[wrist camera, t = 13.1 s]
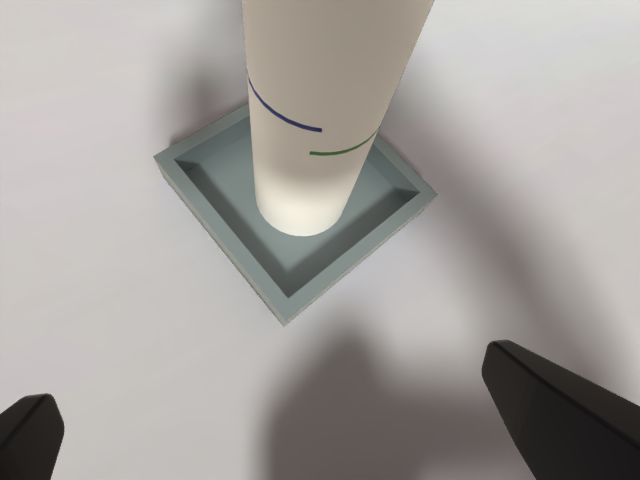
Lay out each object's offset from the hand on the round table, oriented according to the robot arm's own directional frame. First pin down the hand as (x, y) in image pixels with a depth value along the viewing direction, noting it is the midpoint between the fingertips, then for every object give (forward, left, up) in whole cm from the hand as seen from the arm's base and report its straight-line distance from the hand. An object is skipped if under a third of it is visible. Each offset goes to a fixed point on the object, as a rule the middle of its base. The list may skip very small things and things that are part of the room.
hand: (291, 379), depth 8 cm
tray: (+10, -10, -19) cm, 23 cm away
